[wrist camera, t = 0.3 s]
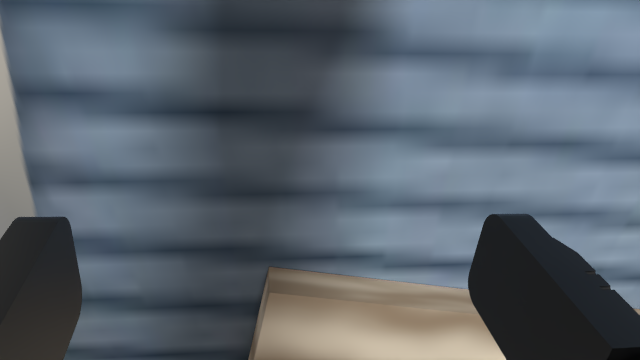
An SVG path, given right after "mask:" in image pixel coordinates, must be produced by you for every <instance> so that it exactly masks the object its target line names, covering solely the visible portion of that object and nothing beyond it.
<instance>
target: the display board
mask: <svg viewBox="0 0 640 360" xmlns="http://www.w3.org/2000/svg"><path fill="white" fill-rule="evenodd" d="M634 310H635V311H636V312H637V313H638V314H639V315H640V309H634ZM248 360H506V358H505V357H504V355H503V353H502V352H501V350H500V348H499V347H498V345H497V343H496V342H495V340H494V338H493V337H492V335H491V333H490V332H489V330H488V328H487V327H486V325H485V323H484V322H483V320H482V318H481V317H480V315H479V313H478V312H477V310H476V308H475V307H474V305H473V303H472V301H471V298H470V294H469V290H467V289H458V288H450V287H441V286H432V285H424V284H415V283H406V282H398V281H389V280H380V279H371V278H363V277H354V276H345V275H337V274H328V273H319V272H310V271H302V270H293V269H284V268H276V267H269V269H268V274H267V278H266V283H265V287H264V292H263V296H262V300H261V305H260V309H259V314H258V318H257V323H256V327H255V332H254V336H253V341H252V345H251V350H250V354H249V359H248Z"/></svg>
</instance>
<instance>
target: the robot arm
mask: <svg viewBox="0 0 640 360" xmlns="http://www.w3.org/2000/svg"><path fill="white" fill-rule="evenodd" d="M468 288H469V294H470V298H471V301H472V303H473V305H474V307H475V308H476V310H477V312H478V313H479V315H480V317H481V318H482V320H483V322H484V323H485V325H486V327H487V328H488V330H489V332H490V333H491V335H492V337H493V338H494V340H495V342H496V343H497V345H498V347H499V348H500V350H501V352H502V353H503V355H504V357H505V358H506V360H640V315H639V314H638V313H637V312H636V311H635V310H634V309H633V308H632V307H631V306H630V305H629V304H628V303H627V302H626V301H625V300H624V299H623V298H622V297H621V296H620V295H619V294H618V293H617V292H616V291H615V290H611V289H610V285H609V284H608V283H607V282H606V281H605V280H604V279H603V278H602V277H601V276H600V275H599V274H597V275H596V274H595V270H594V269H593V268H592V267H591V266H590V265H589V264H588V263H587V262H586V261H585V260H584V259H583V258H582V257H581V256H580V255H579V254H578V253H577V252H575V251H574V250H572V249H571V248H569V247H567V246H566V245H564V244H563V243H561V242H559V241H558V240H556V239H555V238H552V237H551V236H550V235H549V234H548V233H547V232H546V231H545V230H544V229H543V227H542V226H541V225H540V224H539V223H538V222H537V221H536V220H535V219H534V218H533V217H532V216H530V215H528V214H492V215H489V216H488V217H487V218H486V220H485V222H484V224H483V228H482V231H481V234H480V238H479V241H478V245H477V248H476V252H475V255H474V258H473V262H472V265H471V269H470V272H469V277H468ZM81 303H82V286H81V280H80V274H79V269H78V263H77V258H76V252H75V247H74V241H73V236H72V230H71V226H70V223H69V221H68V219H67V218H66V217H18V218H16V219H15V220H14V221H13V222H12V224H11V225H10V226H9V228H8V229H7V231H6V232H5V234H4V235H3V236H2V238H1V240H0V360H63V359H64V356H65V354H66V351H67V348H68V346H69V343H70V340H71V338H72V335H73V332H74V330H75V327H76V324H77V322H78V319H79V315H80V310H81Z"/></svg>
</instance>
